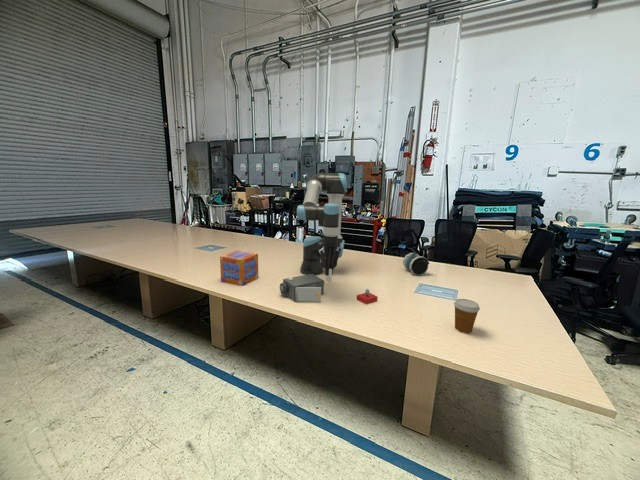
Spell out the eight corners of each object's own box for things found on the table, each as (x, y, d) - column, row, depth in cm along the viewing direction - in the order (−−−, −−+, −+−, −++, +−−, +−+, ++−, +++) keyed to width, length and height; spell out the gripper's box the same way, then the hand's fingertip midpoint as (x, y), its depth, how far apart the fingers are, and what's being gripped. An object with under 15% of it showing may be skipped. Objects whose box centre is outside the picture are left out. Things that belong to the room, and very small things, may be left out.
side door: (320, 300, 141) (321, 287, 140) (320, 301, 139) (321, 288, 138) (295, 300, 140) (295, 287, 139) (295, 301, 138) (295, 288, 137)
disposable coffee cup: (446, 324, 122) (449, 298, 119) (467, 323, 123) (471, 298, 120) (458, 335, 113) (462, 308, 110) (481, 335, 114) (485, 308, 111)
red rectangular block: (365, 305, 139) (366, 293, 138) (356, 300, 145) (357, 288, 143) (377, 301, 144) (378, 290, 142) (367, 297, 149) (368, 285, 148)
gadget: (429, 276, 186) (431, 254, 183) (411, 276, 183) (413, 254, 180) (418, 269, 200) (420, 248, 197) (401, 270, 197) (403, 249, 194)
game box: (237, 274, 177) (237, 250, 174) (258, 278, 172) (258, 253, 169) (220, 281, 163) (219, 256, 160) (242, 286, 158) (242, 259, 154)
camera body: (311, 287, 159) (312, 272, 158) (323, 294, 150) (324, 278, 148) (278, 294, 148) (278, 278, 146) (288, 302, 138) (288, 285, 136)
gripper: (336, 233, 145) (334, 276, 149) (315, 234, 137) (313, 280, 142) (345, 235, 139) (343, 281, 143) (324, 237, 131) (322, 285, 136)
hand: (328, 280), depth 142 cm, fingers closed
